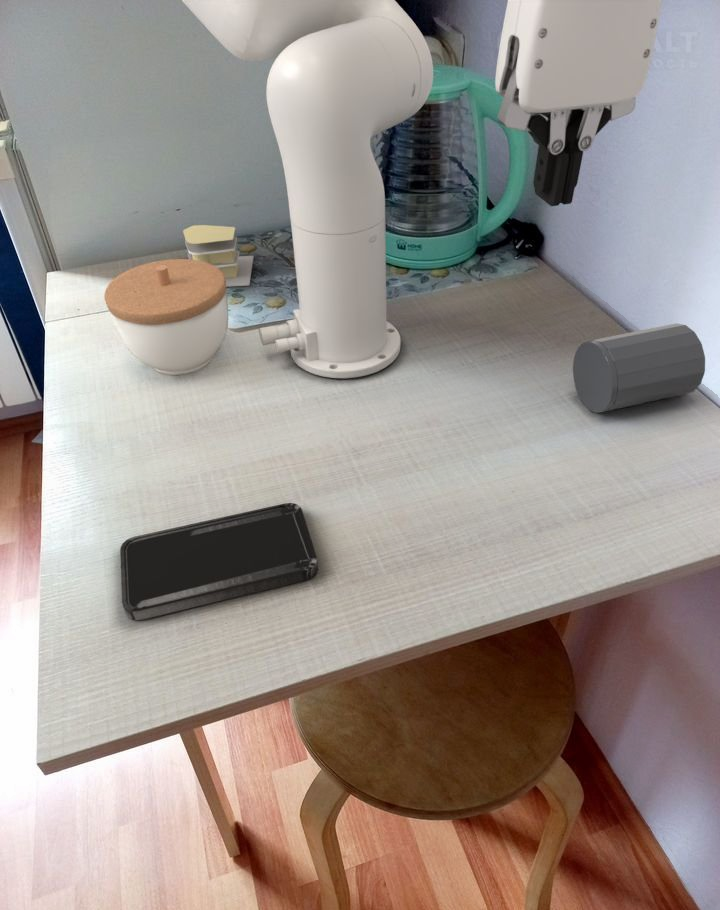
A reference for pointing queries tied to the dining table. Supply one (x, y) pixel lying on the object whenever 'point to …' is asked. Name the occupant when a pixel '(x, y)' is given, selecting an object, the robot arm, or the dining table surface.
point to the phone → (215, 560)
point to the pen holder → (638, 367)
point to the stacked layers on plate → (219, 252)
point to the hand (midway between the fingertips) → (552, 198)
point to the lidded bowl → (170, 313)
